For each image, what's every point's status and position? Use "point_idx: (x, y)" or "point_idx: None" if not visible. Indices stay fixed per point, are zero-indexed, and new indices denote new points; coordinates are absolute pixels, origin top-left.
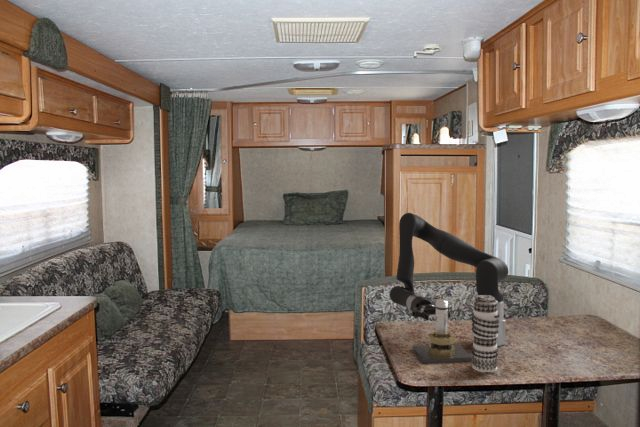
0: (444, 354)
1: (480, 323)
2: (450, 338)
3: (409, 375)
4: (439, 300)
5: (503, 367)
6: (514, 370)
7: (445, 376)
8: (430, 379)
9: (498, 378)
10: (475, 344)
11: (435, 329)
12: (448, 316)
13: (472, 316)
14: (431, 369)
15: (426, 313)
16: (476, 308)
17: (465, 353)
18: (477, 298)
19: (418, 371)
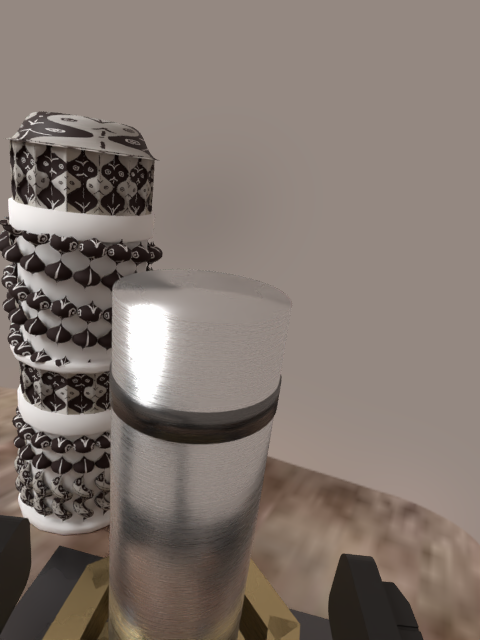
0: None
1: (146, 268)
2: None
3: (453, 550)
4: (238, 298)
5: (9, 464)
6: (6, 435)
7: (296, 490)
8: (364, 493)
9: None
10: None
11: (237, 627)
12: (22, 553)
13: (156, 255)
14: (333, 565)
15: (364, 614)
16: (148, 198)
17: (37, 610)
18: (138, 135)
19: (405, 570)
